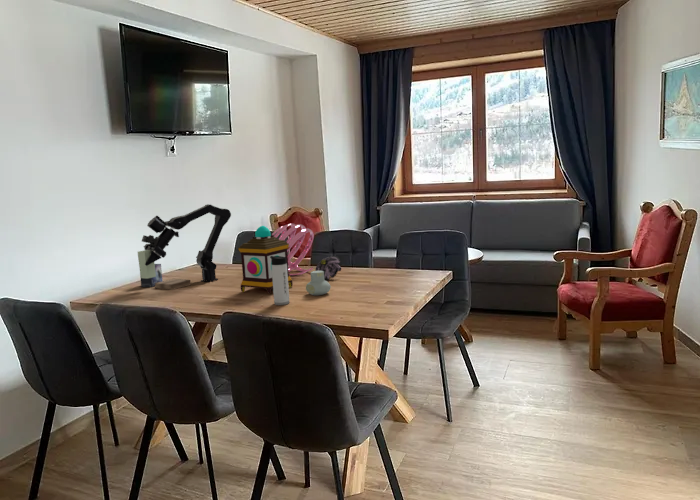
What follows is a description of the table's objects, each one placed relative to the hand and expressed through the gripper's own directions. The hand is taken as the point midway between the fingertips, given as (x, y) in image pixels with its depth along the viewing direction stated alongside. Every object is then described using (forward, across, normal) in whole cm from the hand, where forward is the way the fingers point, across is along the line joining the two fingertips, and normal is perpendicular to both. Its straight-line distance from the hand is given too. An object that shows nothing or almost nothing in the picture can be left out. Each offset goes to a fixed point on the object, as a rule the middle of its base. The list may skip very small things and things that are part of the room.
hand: (143, 264), depth 270 cm
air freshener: (-29, +70, +49) cm, 90 cm away
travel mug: (-14, +74, +34) cm, 83 cm away
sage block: (+4, 0, +6) cm, 7 cm away
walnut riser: (0, -1, +19) cm, 19 cm away
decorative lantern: (-20, +44, +40) cm, 63 cm away
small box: (+5, -13, +14) cm, 20 cm away
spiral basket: (-40, +17, +60) cm, 75 cm away
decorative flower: (-44, +43, +65) cm, 90 cm away
